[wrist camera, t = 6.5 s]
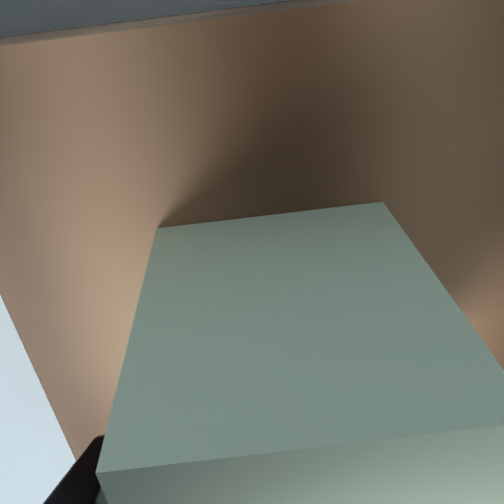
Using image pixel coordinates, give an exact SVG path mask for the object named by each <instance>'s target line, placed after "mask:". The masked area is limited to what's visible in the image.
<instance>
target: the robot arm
mask: <svg viewBox="0 0 504 504" xmlns="http://www.w3.org/2000/svg"><path fill="white" fill-rule="evenodd" d="M104 437H105V435H99V436H97V437H95V438H94V439H93V440H92V441H91V443H90V444H89V445H88V446H87V448H86V449H85V450H84V452H83V453H82V454H81V455H80V457H79V458H78V459H77V461H76V462H75V463H74V464H73V466H72V467H71V468H70V470H69V471H68V472H67V473H66V475H65V476H64V477H63V479H62V480H61V481H60V482H59V484H58V485H57V486H56V488H55V489H54V490H53V491H52V493H51V494H50V495H49V497H48V498H47V499H46V500H45V502H44V503H43V504H108V502H107V499H106V497H105V495H104V492H103V490H102V488H101V485H100V483H99V480H98V478H97V476H96V469H97V465H98V461H99V457H100V453H101V449H102V445H103V441H104Z"/></svg>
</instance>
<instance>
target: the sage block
mask: <svg viewBox="0 0 504 504" xmlns="http://www.w3.org/2000/svg"><path fill="white" fill-rule="evenodd" d="M96 476H97V478H98V480H99V483H100V485H101V488H102V490H103V492H104V495H105V497H106V499H107V502H108V504H504V370H503V368H502V367H501V365H500V364H499V363H498V361H497V360H496V358H495V357H494V356H493V354H492V353H491V351H490V350H489V349H488V347H487V346H486V344H485V343H484V342H483V340H482V339H481V338H480V336H479V335H478V333H477V332H476V331H475V329H474V328H473V326H472V325H471V324H470V322H469V321H468V319H467V318H466V317H465V315H464V314H463V312H462V311H461V310H460V308H459V307H458V305H457V304H456V303H455V301H454V300H453V299H452V297H451V296H450V294H449V293H448V292H447V290H446V289H445V287H444V286H443V285H442V283H441V282H440V280H439V279H438V278H437V276H436V275H435V273H434V272H433V271H432V269H431V268H430V266H429V265H428V264H427V262H426V261H425V260H424V258H423V257H422V255H421V254H420V253H419V251H418V250H417V248H416V247H415V246H414V244H413V243H412V241H411V240H410V239H409V237H408V236H407V234H406V233H405V232H404V230H403V229H402V228H401V226H400V225H399V223H398V222H397V221H396V219H395V218H394V216H393V215H392V214H391V212H390V211H389V209H388V208H387V207H386V205H385V204H384V202H376V203H367V204H359V205H350V206H342V207H333V208H325V209H316V210H308V211H299V212H291V213H282V214H274V215H265V216H257V217H248V218H240V219H231V220H223V221H214V222H206V223H197V224H189V225H180V226H172V227H163V228H156V232H155V236H154V240H153V244H152V248H151V252H150V256H149V260H148V264H147V268H146V272H145V276H144V280H143V284H142V288H141V292H140V296H139V300H138V304H137V308H136V312H135V316H134V320H133V324H132V328H131V332H130V336H129V340H128V344H127V348H126V353H125V357H124V361H123V365H122V369H121V373H120V377H119V381H118V385H117V389H116V393H115V397H114V401H113V405H112V409H111V413H110V417H109V421H108V425H107V429H106V433H105V437H104V441H103V445H102V449H101V453H100V457H99V461H98V465H97V469H96Z"/></svg>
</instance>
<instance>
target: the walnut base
mask: <svg viewBox="0 0 504 504" xmlns="http://www.w3.org/2000/svg"><path fill="white" fill-rule="evenodd" d="M376 202H384V204H385V205H386V207H387V208H388V209H389V211H390V212H391V214H392V215H393V216H394V218H395V219H396V221H397V222H398V223H399V225H400V226H401V228H402V229H403V230H404V232H405V233H406V234H407V236H408V237H409V239H410V240H411V241H412V243H413V244H414V246H415V247H416V248H417V250H418V251H419V253H420V254H421V255H422V257H423V258H424V260H425V261H426V262H427V264H428V265H429V266H430V268H431V269H432V271H433V272H434V273H435V275H436V276H437V278H438V279H439V280H440V282H441V283H442V285H443V286H444V287H445V289H446V290H447V292H448V293H449V294H450V296H451V297H452V299H453V300H454V301H455V303H456V304H457V305H458V307H459V308H460V310H461V311H462V312H463V314H464V315H465V317H466V318H467V319H468V321H469V322H470V324H471V325H472V326H473V328H474V329H475V331H476V332H477V333H478V335H479V336H480V338H481V339H482V340H483V342H484V343H485V344H486V346H487V347H488V349H489V350H490V351H491V353H492V354H493V356H494V357H495V358H496V360H497V361H498V363H499V364H500V365H501V367H502V368H503V370H504V0H293V1H285V2H278V3H270V4H262V5H254V6H246V7H238V8H230V9H223V10H215V11H207V12H199V13H191V14H183V15H176V16H168V17H160V18H152V19H144V20H136V21H128V22H121V23H113V24H105V25H97V26H89V27H81V28H74V29H66V30H58V31H50V32H42V33H34V34H26V35H19V36H11V37H3V38H0V295H1V297H2V299H3V302H4V304H5V306H6V308H7V310H8V313H9V315H10V317H11V319H12V321H13V323H14V326H15V328H16V330H17V332H18V334H19V337H20V339H21V341H22V343H23V345H24V348H25V350H26V352H27V354H28V356H29V359H30V361H31V363H32V365H33V367H34V370H35V372H36V374H37V376H38V378H39V380H40V383H41V385H42V387H43V389H44V391H45V394H46V396H47V398H48V400H49V402H50V405H51V407H52V409H53V411H54V413H55V416H56V418H57V420H58V422H59V424H60V427H61V429H62V431H63V433H64V435H65V437H66V440H67V442H68V444H69V446H70V448H71V451H72V453H73V455H74V457H75V459H76V461H77V459H78V458H79V457H80V455H81V454H82V453H83V452H84V450H85V449H86V448H87V446H88V445H89V444H90V443H91V441H92V440H93V439H94V438H95V437H97V436H99V435H105V433H106V429H107V425H108V421H109V417H110V413H111V409H112V405H113V401H114V397H115V393H116V389H117V385H118V381H119V377H120V373H121V369H122V365H123V361H124V357H125V353H126V348H127V344H128V340H129V336H130V332H131V328H132V324H133V320H134V316H135V312H136V308H137V304H138V300H139V296H140V292H141V288H142V284H143V280H144V276H145V272H146V268H147V264H148V260H149V256H150V252H151V248H152V244H153V240H154V236H155V232H156V228H163V227H172V226H180V225H189V224H197V223H206V222H214V221H223V220H231V219H240V218H248V217H257V216H265V215H274V214H282V213H291V212H299V211H308V210H316V209H325V208H333V207H342V206H350V205H359V204H367V203H376Z"/></svg>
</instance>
